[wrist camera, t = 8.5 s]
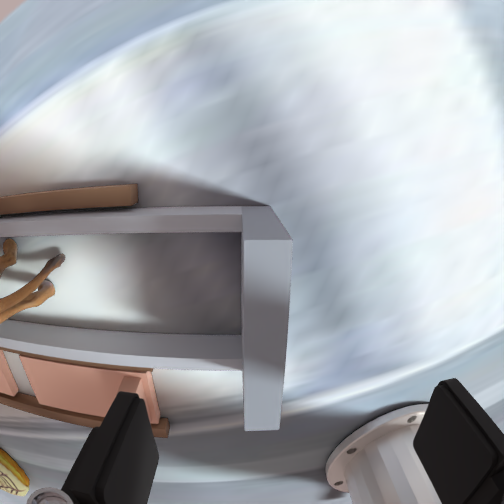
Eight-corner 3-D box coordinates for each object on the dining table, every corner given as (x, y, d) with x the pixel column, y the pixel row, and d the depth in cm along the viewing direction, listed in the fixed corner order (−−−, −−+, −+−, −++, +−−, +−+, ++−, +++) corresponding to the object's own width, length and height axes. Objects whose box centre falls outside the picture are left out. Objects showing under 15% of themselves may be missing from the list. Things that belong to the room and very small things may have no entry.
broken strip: (160, 414, 20) (153, 444, 18) (-53, 365, 19) (-67, 379, 16) (149, 364, 19) (138, 393, 16) (-69, 325, 18) (-86, 338, 15)
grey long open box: (266, 345, 19) (279, 429, 12) (-37, 319, 18) (-85, 359, 11) (270, 206, 17) (292, 239, 10) (-59, 223, 15) (-119, 247, 9)
